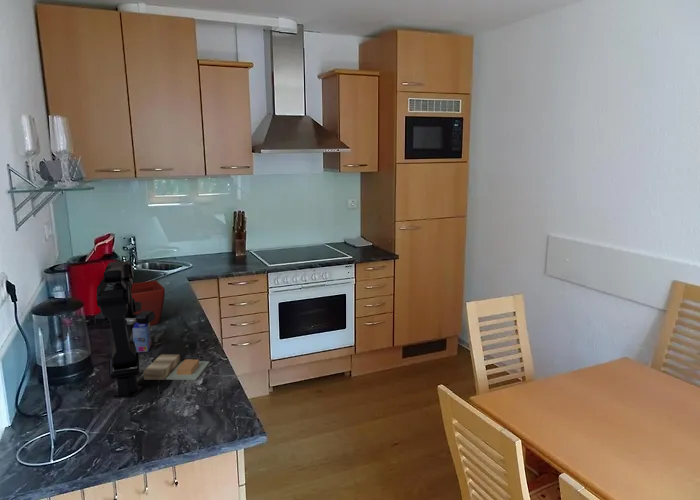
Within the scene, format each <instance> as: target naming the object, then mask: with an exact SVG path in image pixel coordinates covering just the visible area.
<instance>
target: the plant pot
mask: <svg viewBox="0 0 700 500" xmlns="http://www.w3.org/2000/svg"><path fill="white" fill-rule="evenodd" d="M165 292H166V289H165V287H164V286H163V285H161V284H160V282H158V280H148V281H143V282H142V281H141V282H140V281H139V282H134V283H133V284H132V288H131V293H132V298H134V299H135V302H142V304H141V311H137V312H136V313H134V314H140V313H141V312H142V311H153V312H154V313H155V319H153V320H152V321H151V322H150V327H151V326H156V325H159V324H160V320H161V317H162V313H163V309H164V302H165V294H166V293H165Z"/></svg>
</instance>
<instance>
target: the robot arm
mask: <svg viewBox="0 0 700 500" xmlns="http://www.w3.org/2000/svg"><path fill="white" fill-rule="evenodd" d="M134 277H135V276H134V269H133V265H132V263H130V261H129V260H126V261H125V260H123V261H111V262H108V264H107V266H106V267H105V269H104V272H103V279H102V280H101V281H100V283H99V284H98V286H97V287H96V305H97V308H100V312H99V313H97V314H96V315H95V316H94V324H95V325H98V324H99V325H100V324H101V325H104V324H105V322H107V321H109V325H110V330H111V335H112V340H113V345H112V346H113V348H112V355H111V356H110V359H109V360H108V375H109V378H110V379H111V380H116V385H117V391H116V392H115V393H114V395H113V397H114V398H124V397H125V398H127V397H128V398H132V397H135V396H136V395H137V394H138V393H139V391H141V390H142V389H143V386H142V385H138V377H137V376H141V370H142V369H141V358H140V352H137V350H136V346H135V343H134V340H133V341H130V339H131V336H132V334H133V327H134V324H135V323H139V324H148V323H150V322H151V321H152V320H153V319H155V313H154V312H153V311H142V312H141V313H140V314H134V313H136V312H137V311H141V304H142V302H135V299H134V298H132V293H131V288H132V284H133V282H134V281H133V279H134ZM110 284H111V287H112V289H108V290H106V288H107V287H108V285H110ZM117 370H118V371H117Z"/></svg>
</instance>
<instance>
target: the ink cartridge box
mask: <svg viewBox="0 0 700 500" xmlns="http://www.w3.org/2000/svg"><path fill="white" fill-rule="evenodd" d="M132 337H133V339H132V340H133V342H134V343H135V346H136V350H137V352H139V353H147V352H149V351H150V348H151V346H152V333H151V326H150V323H148V324H139V323H135V324H134V327H133V329H132Z"/></svg>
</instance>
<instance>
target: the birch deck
mask: <svg viewBox="0 0 700 500" xmlns="http://www.w3.org/2000/svg"><path fill="white" fill-rule="evenodd" d="M180 362H181V355H180V354H178V353H177V354H171V353H170V354H166V353H164V354H163V353H161V354H160V355H159V356H157V358H155V360H153V362H152V363H150V364H149V365H148V366H147V367H146V368H145V369H144V370H143V379H144V380H155V381H156V380H160V381H161V380H166V378H167V377H168V376H169V374H170V373H171V372H172V371H173V370H174V369H175V368H176V367H177V366H178V364H179V363H180Z"/></svg>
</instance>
